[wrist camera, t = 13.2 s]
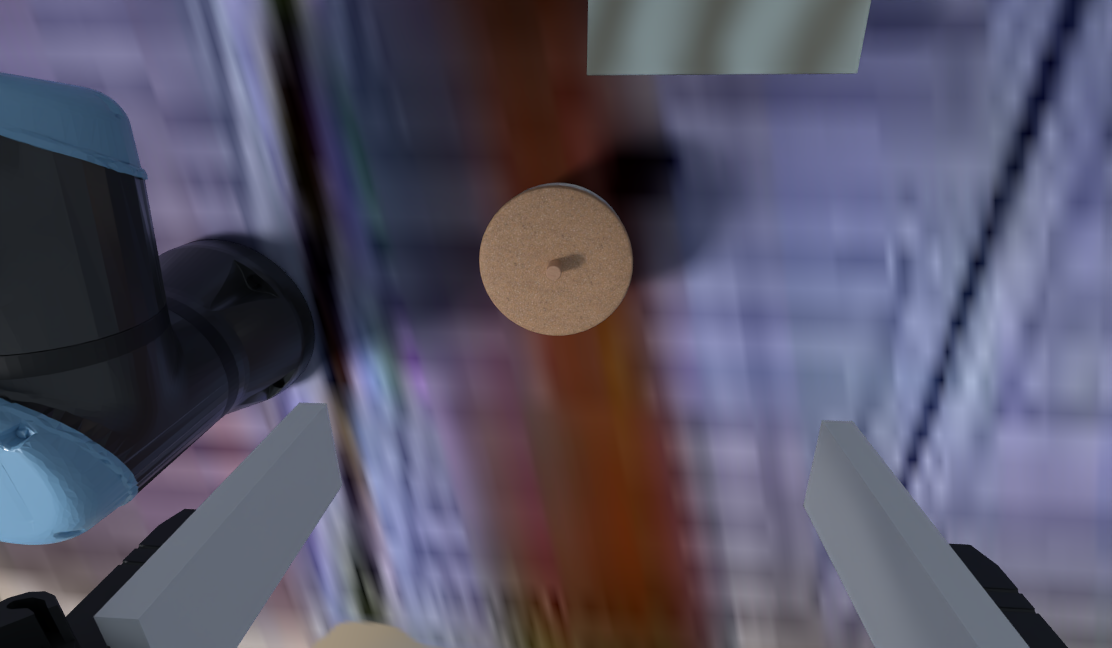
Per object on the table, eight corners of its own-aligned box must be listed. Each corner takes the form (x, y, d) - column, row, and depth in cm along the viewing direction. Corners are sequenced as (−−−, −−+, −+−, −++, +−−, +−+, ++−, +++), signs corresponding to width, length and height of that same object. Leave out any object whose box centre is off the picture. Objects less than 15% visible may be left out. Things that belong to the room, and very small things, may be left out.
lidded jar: (509, 157, 43) (487, 173, 34) (642, 188, 43) (654, 212, 34) (487, 284, 47) (463, 327, 38) (609, 311, 47) (612, 360, 38)
